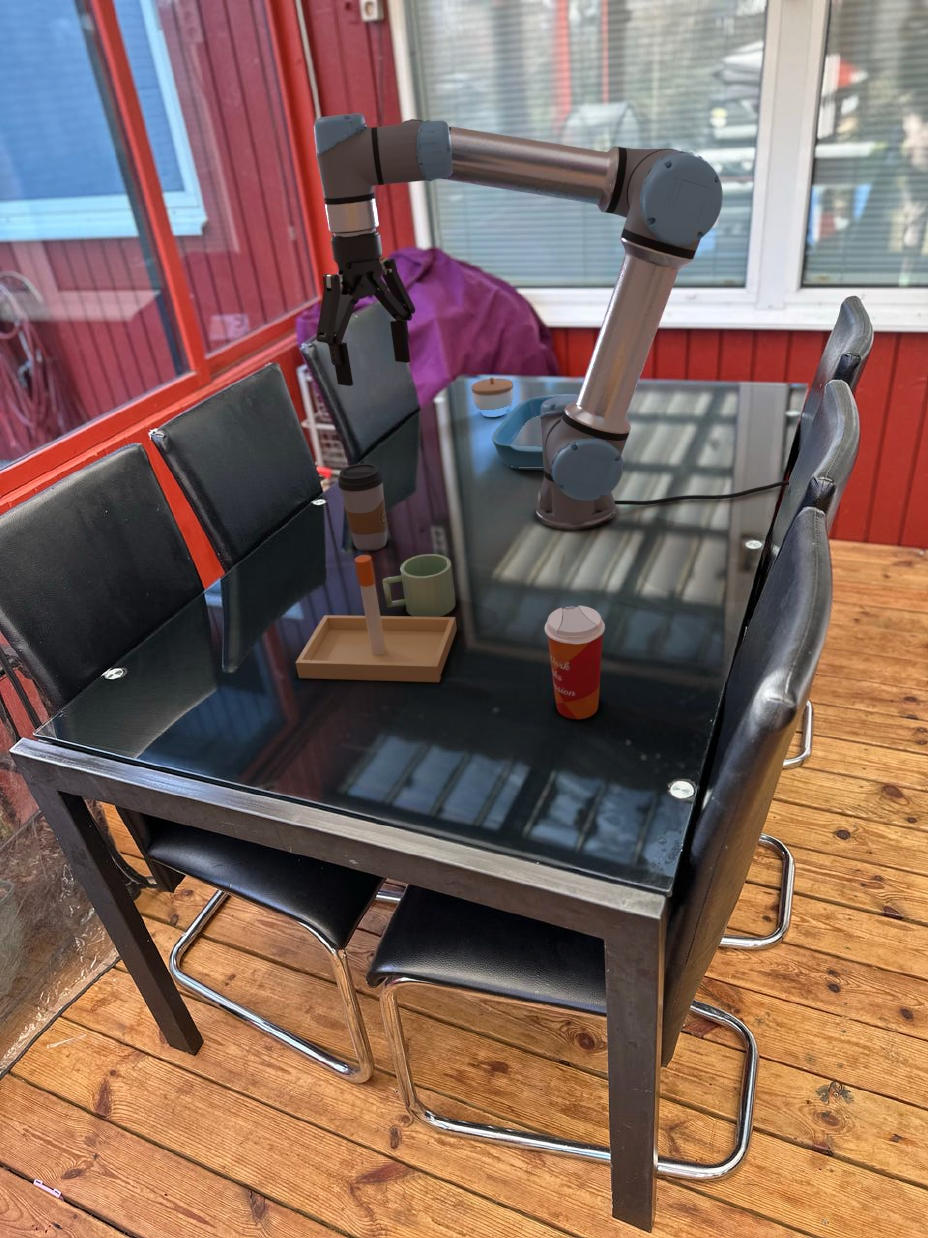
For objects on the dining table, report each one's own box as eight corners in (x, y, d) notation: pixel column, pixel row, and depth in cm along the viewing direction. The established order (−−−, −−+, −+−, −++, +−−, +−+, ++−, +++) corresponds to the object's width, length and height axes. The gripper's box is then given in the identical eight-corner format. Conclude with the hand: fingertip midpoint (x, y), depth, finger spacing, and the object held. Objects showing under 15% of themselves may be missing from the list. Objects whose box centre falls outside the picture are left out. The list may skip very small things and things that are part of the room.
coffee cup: (385, 554, 165) (374, 479, 157) (343, 554, 167) (330, 479, 159) (397, 534, 172) (387, 462, 164) (357, 534, 174) (344, 462, 166)
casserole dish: (583, 481, 186) (582, 449, 182) (482, 477, 193) (480, 446, 189) (615, 422, 215) (615, 393, 212) (527, 420, 222) (525, 392, 219)
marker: (388, 647, 136) (373, 554, 128) (384, 656, 134) (368, 562, 126) (373, 646, 137) (357, 554, 128) (369, 655, 135) (352, 562, 126)
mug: (451, 592, 150) (446, 550, 146) (459, 616, 143) (454, 573, 139) (385, 603, 149) (379, 561, 145) (390, 628, 142) (383, 584, 138)
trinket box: (470, 421, 226) (467, 385, 221) (477, 408, 235) (474, 372, 230) (512, 420, 224) (509, 383, 219) (517, 406, 233) (515, 371, 228)
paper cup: (544, 693, 123) (539, 607, 116) (599, 687, 123) (597, 600, 116) (554, 728, 116) (549, 638, 109) (611, 721, 117) (611, 631, 109)
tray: (457, 632, 139) (455, 617, 138) (439, 682, 128) (437, 666, 126) (327, 629, 144) (324, 615, 142) (298, 678, 132) (295, 662, 131)
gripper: (391, 218, 143) (408, 350, 154) (275, 246, 127) (303, 392, 138) (426, 218, 139) (441, 354, 150) (310, 247, 123) (336, 397, 134)
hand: (375, 372), depth 144 cm, fingers open, 13 cm apart
